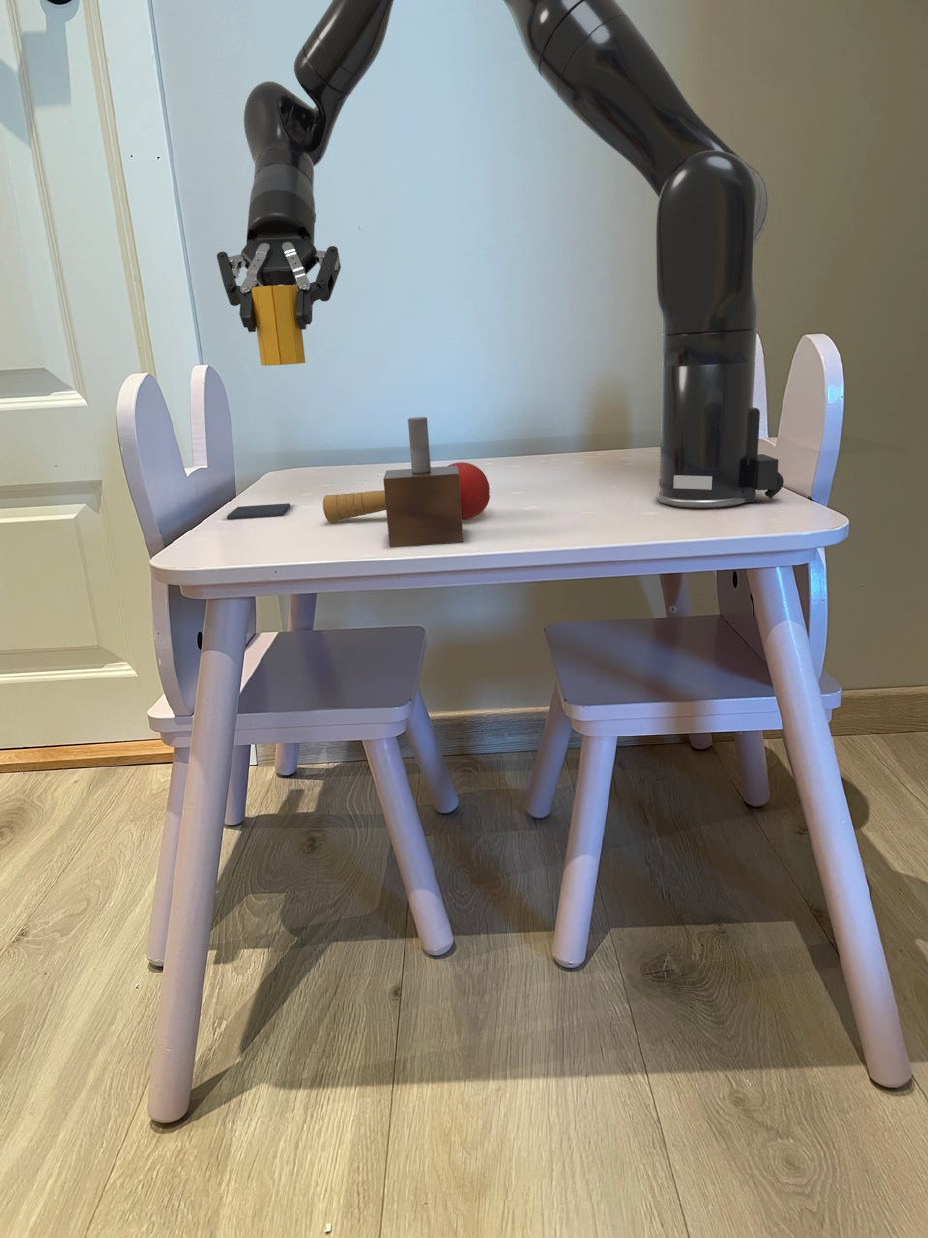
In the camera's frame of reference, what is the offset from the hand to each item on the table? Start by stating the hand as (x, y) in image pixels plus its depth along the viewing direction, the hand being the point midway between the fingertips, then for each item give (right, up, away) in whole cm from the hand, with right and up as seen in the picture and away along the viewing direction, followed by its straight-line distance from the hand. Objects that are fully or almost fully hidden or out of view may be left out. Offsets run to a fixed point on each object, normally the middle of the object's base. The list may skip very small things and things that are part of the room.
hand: (275, 324), depth 89 cm
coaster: (-4, -19, +10) cm, 22 cm away
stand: (+17, -24, -8) cm, 30 cm away
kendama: (+14, -21, 0) cm, 26 cm away
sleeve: (0, -3, +3) cm, 5 cm away
